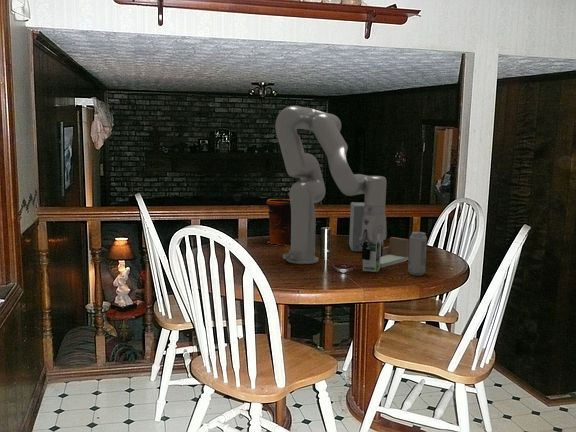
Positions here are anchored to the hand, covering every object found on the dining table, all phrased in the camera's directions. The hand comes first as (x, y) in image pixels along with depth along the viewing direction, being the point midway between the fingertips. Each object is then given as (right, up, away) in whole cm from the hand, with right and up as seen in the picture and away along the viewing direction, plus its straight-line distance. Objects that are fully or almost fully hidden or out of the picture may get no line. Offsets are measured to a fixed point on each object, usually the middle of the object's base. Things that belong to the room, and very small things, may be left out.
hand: (372, 257), depth 202 cm
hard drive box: (+1, +1, +42) cm, 42 cm away
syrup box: (0, -5, +1) cm, 5 cm away
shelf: (+8, -3, +15) cm, 17 cm away
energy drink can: (+15, -6, -3) cm, 17 cm away
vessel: (-34, +3, +52) cm, 62 cm away
